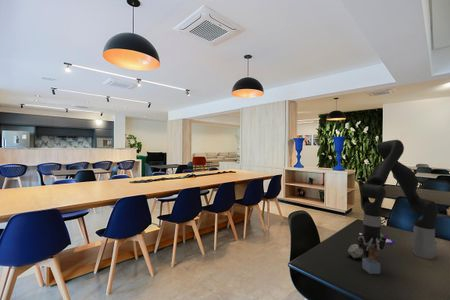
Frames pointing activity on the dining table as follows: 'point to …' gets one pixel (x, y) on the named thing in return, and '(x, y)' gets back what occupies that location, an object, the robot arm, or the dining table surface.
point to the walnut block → (373, 253)
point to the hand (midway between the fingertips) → (371, 256)
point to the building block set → (384, 237)
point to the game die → (355, 251)
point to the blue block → (371, 266)
